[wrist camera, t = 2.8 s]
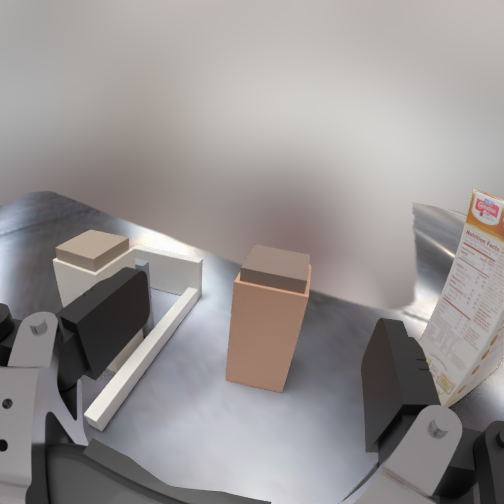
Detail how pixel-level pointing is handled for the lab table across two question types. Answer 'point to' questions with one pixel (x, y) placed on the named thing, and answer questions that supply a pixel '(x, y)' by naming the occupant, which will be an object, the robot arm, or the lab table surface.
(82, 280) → the cream canister
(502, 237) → the coffeecake box
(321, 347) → the lab table surface
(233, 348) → the terracotta canister
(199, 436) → the lab table surface
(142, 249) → the lane
